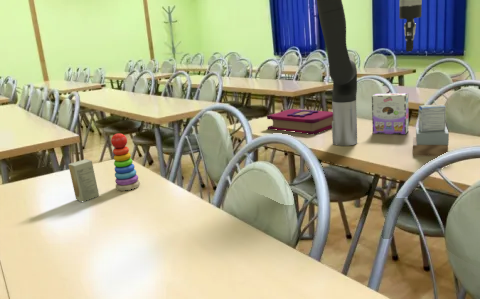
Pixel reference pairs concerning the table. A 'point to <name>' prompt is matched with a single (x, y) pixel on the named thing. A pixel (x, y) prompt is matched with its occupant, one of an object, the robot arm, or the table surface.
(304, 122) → the book
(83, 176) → the skincare box
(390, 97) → the candy box
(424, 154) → the walnut base block
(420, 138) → the slate top block
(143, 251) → the table surface
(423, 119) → the medicine box
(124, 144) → the stacking toy
